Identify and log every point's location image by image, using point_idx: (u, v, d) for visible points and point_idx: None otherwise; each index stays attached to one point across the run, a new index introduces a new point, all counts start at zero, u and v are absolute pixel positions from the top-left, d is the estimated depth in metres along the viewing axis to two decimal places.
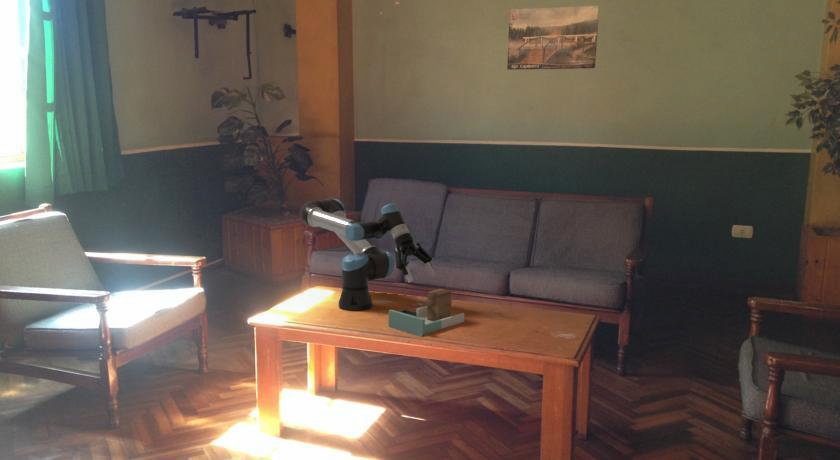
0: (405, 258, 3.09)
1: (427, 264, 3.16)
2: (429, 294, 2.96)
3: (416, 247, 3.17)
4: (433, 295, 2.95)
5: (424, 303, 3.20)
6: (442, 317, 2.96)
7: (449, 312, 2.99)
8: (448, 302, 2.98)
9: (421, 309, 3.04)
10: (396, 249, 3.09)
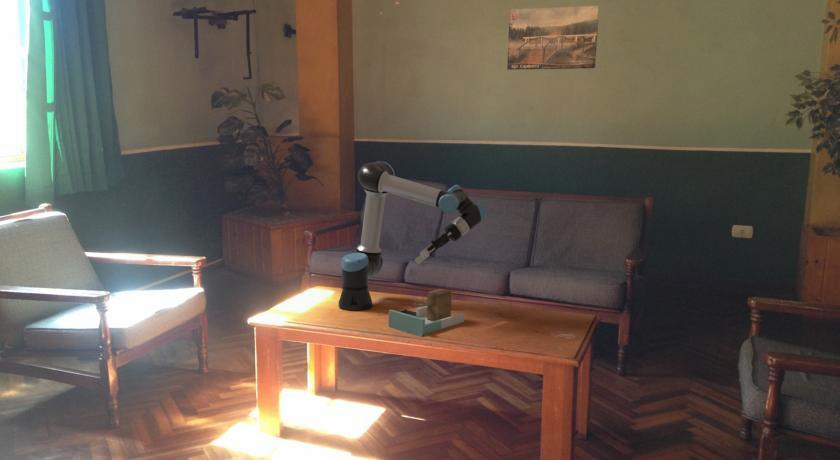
0: (441, 244, 3.02)
1: (427, 254, 3.12)
2: (429, 294, 2.96)
3: None
4: (433, 295, 2.95)
5: (424, 303, 3.20)
6: (442, 317, 2.96)
7: (449, 312, 2.99)
8: (448, 302, 2.98)
9: (421, 309, 3.04)
10: (449, 234, 3.02)
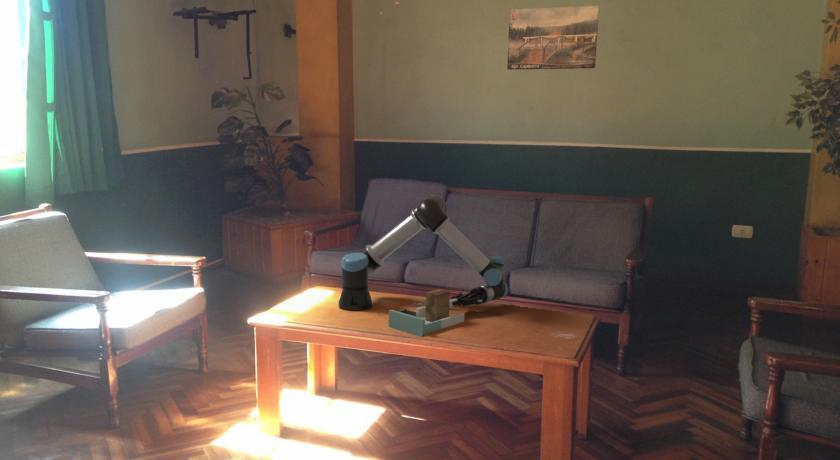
0: None
1: None
2: (427, 294, 2.96)
3: None
4: (431, 296, 2.94)
5: (423, 303, 3.20)
6: (440, 318, 2.96)
7: (447, 312, 2.98)
8: (446, 302, 2.97)
9: (421, 309, 3.04)
10: (480, 301, 3.07)
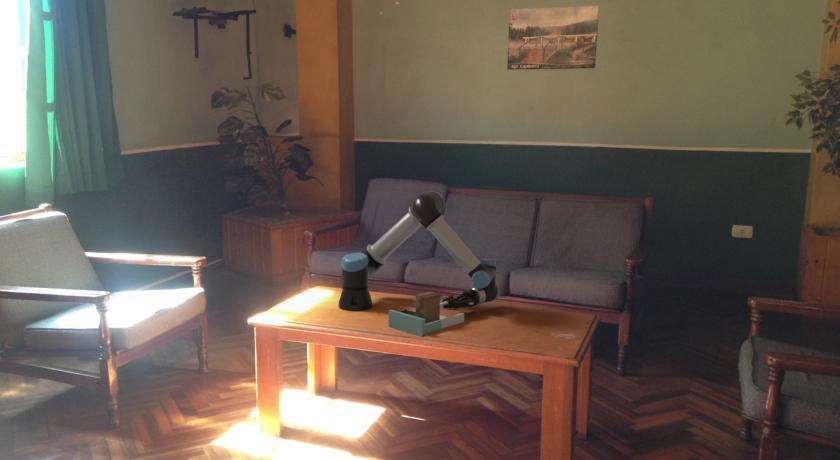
0: None
1: None
2: (417, 297, 2.92)
3: (454, 299, 3.10)
4: (421, 298, 2.90)
5: None
6: (430, 320, 2.91)
7: (438, 315, 2.94)
8: (436, 305, 2.93)
9: None
10: (471, 303, 3.03)
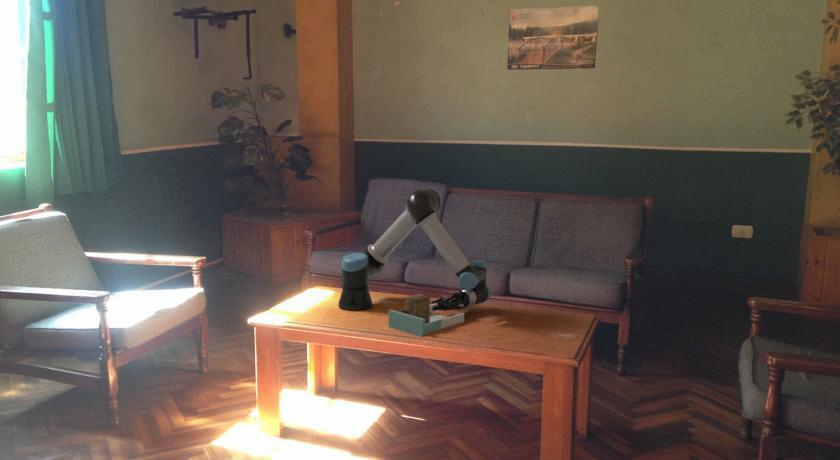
0: None
1: None
2: (407, 299, 2.88)
3: None
4: (411, 301, 2.86)
5: None
6: None
7: (427, 318, 2.90)
8: (426, 308, 2.89)
9: None
10: (461, 305, 2.99)
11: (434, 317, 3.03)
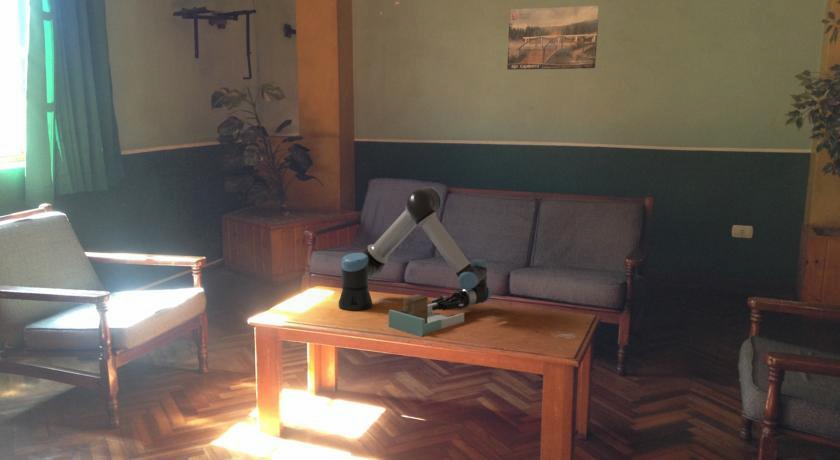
0: None
1: None
2: (404, 300, 2.87)
3: None
4: (409, 301, 2.85)
5: None
6: None
7: (425, 319, 2.90)
8: (424, 308, 2.89)
9: None
10: (461, 305, 2.99)
11: (434, 317, 3.03)
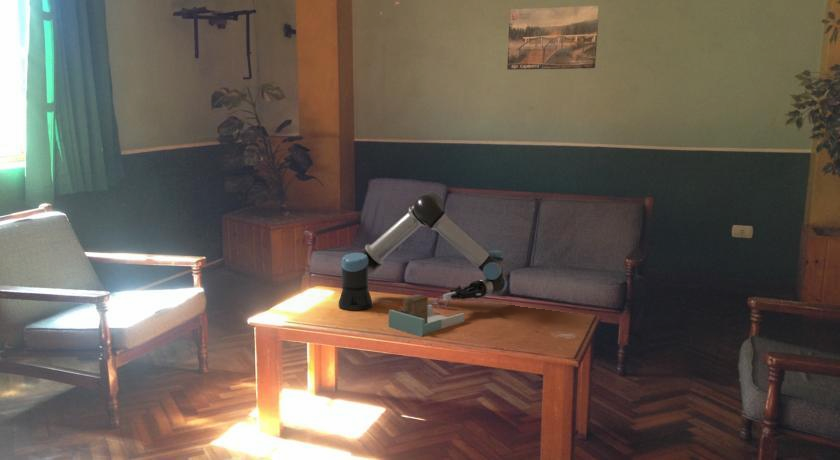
0: None
1: None
2: (404, 300, 2.87)
3: None
4: (409, 301, 2.85)
5: None
6: None
7: (425, 319, 2.90)
8: (424, 308, 2.89)
9: None
10: (479, 294, 3.07)
11: (434, 317, 3.03)
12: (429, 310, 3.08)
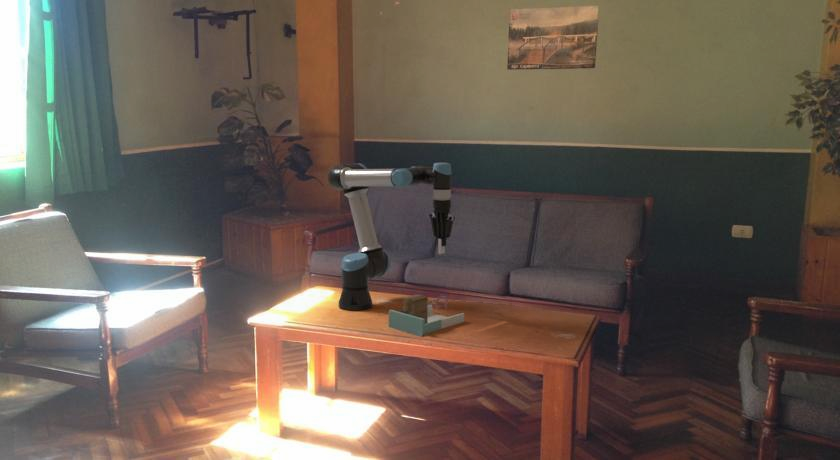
0: None
1: None
2: (404, 300, 2.87)
3: (435, 215, 3.10)
4: (409, 301, 2.85)
5: None
6: None
7: (425, 319, 2.90)
8: (424, 308, 2.89)
9: None
10: (452, 219, 3.03)
11: (434, 317, 3.03)
12: (429, 310, 3.08)
